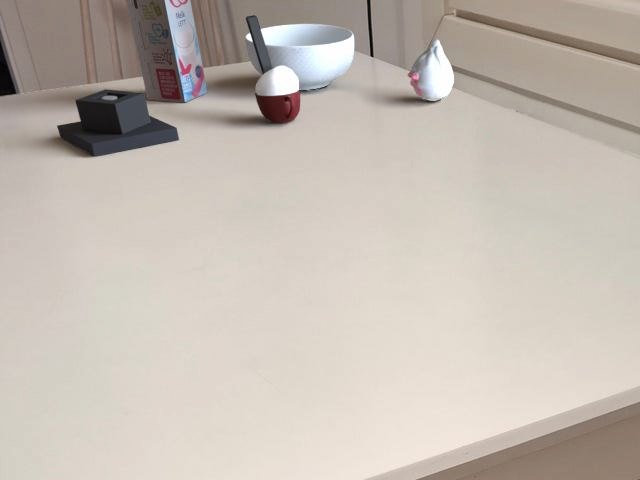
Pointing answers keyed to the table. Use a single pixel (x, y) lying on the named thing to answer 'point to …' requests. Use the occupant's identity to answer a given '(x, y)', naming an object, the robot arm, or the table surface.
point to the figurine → (432, 73)
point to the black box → (113, 111)
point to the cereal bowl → (307, 51)
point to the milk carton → (167, 49)
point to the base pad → (117, 136)
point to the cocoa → (274, 82)
